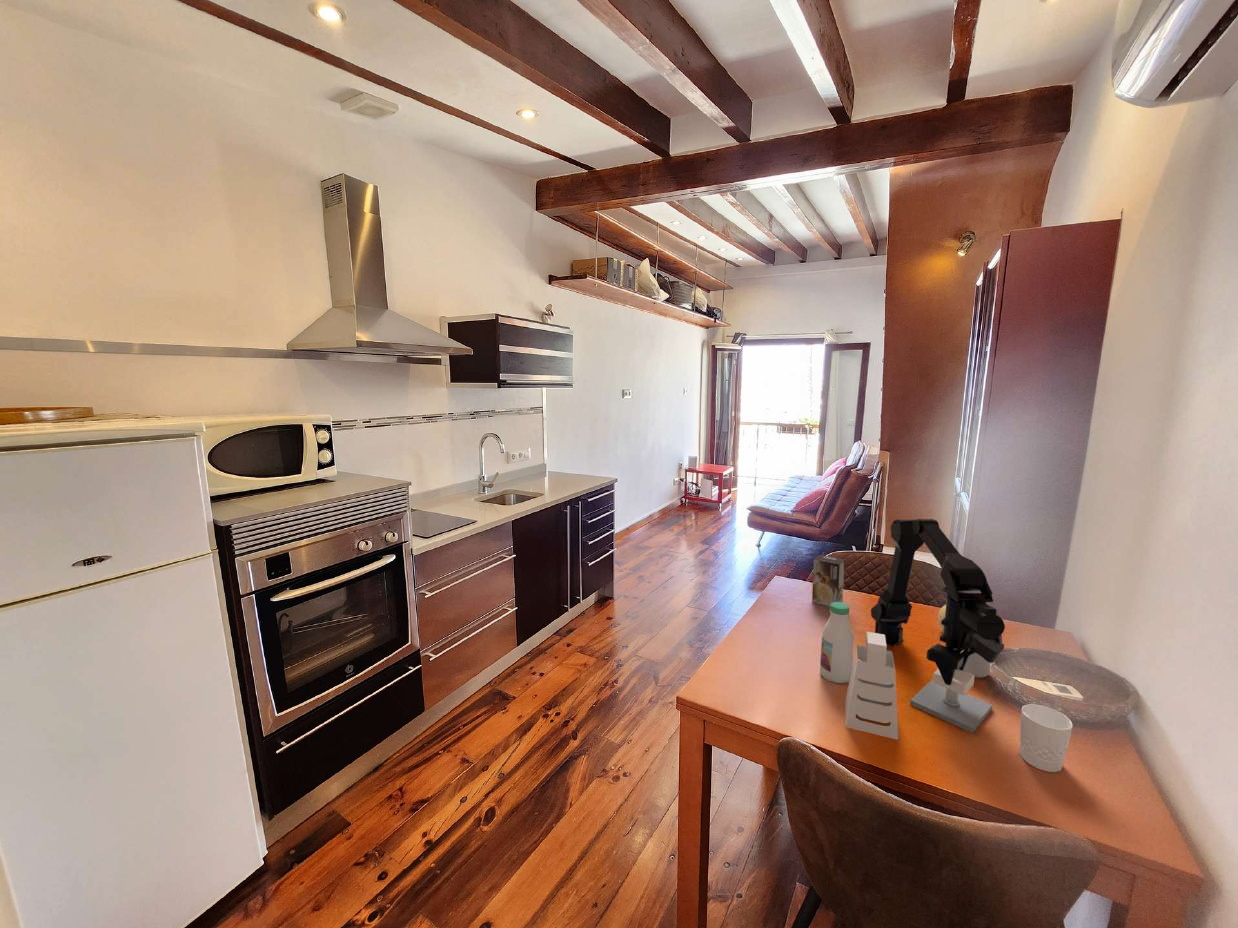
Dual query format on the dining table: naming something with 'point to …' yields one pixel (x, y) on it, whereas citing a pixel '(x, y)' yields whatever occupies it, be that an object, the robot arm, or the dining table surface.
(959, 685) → the white square frame
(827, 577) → the coffee box
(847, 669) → the milk bottle
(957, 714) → the post stand
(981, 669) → the can
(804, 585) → the dining table surface
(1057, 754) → the white cup
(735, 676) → the dining table surface
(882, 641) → the grater
